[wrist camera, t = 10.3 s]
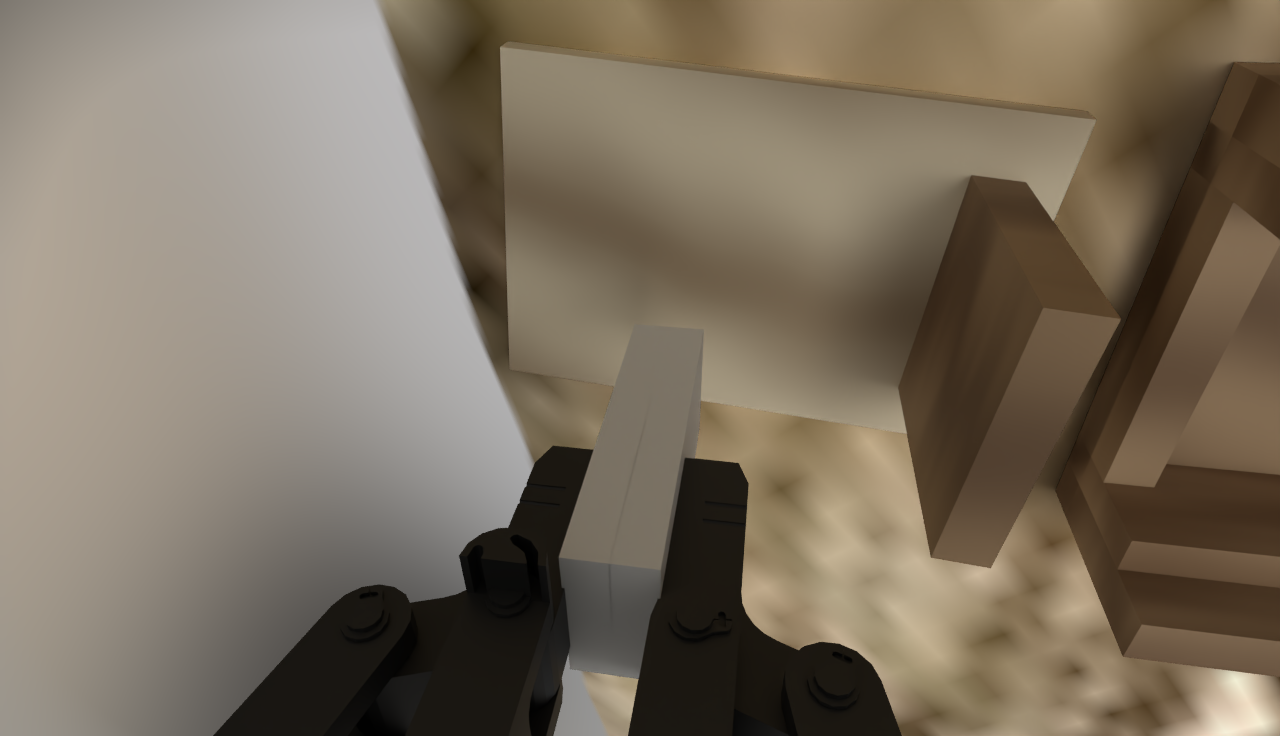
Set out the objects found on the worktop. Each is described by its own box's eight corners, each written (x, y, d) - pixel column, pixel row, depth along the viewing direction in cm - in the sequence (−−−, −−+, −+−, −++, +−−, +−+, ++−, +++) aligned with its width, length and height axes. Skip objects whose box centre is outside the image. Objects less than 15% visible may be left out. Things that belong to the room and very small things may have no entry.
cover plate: (513, 37, 18) (383, 127, 12) (1081, 106, 17) (1230, 240, 11) (519, 351, 23) (430, 516, 17) (953, 420, 22) (1009, 621, 16)
